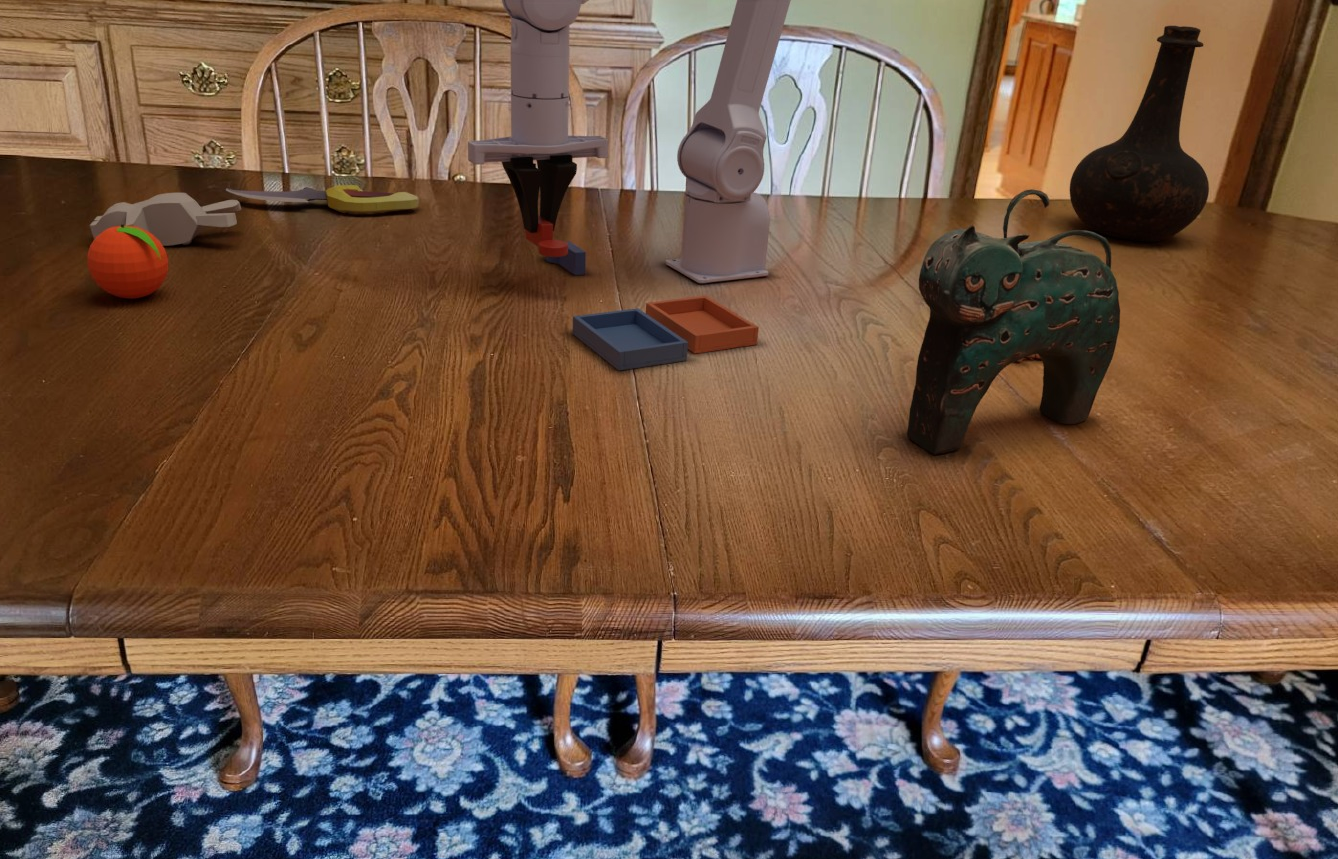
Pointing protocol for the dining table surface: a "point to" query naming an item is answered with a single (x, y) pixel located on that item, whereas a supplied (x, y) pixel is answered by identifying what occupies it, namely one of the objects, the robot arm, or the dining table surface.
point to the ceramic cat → (1010, 326)
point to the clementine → (127, 262)
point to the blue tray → (629, 339)
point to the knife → (341, 198)
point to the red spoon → (547, 240)
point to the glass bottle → (1147, 159)
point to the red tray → (704, 323)
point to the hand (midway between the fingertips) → (539, 229)
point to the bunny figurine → (168, 217)
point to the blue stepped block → (571, 260)
